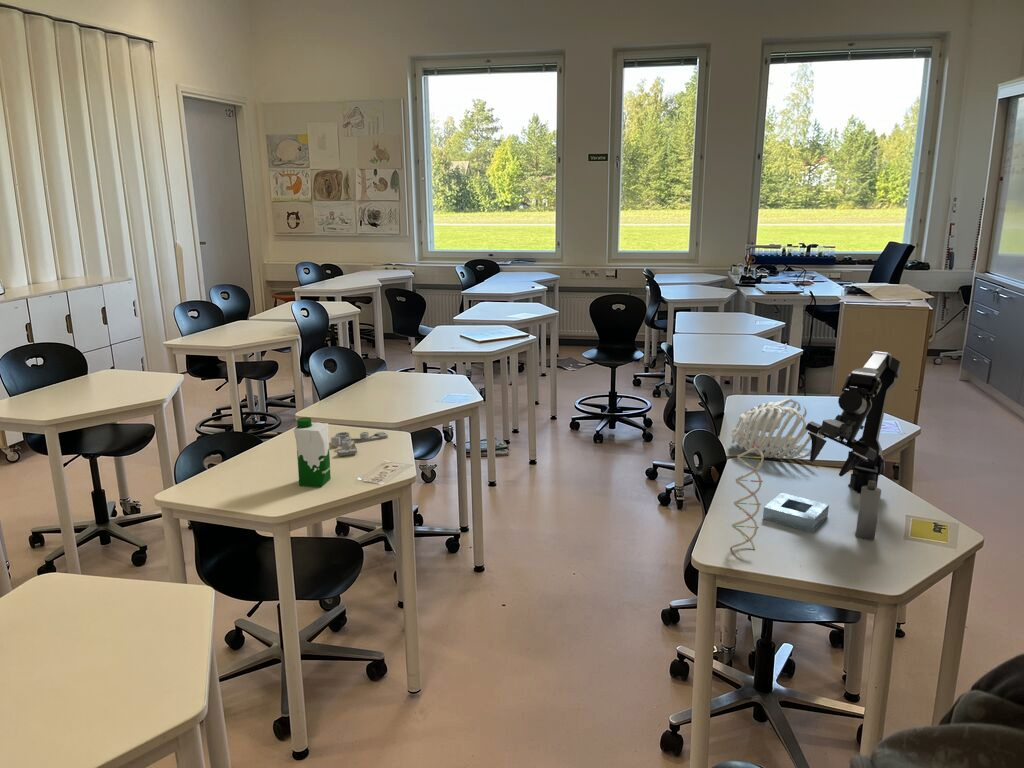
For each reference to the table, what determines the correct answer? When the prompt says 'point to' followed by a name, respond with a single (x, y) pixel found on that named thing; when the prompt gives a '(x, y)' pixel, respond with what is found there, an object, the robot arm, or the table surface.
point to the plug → (868, 511)
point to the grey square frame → (796, 512)
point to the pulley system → (345, 441)
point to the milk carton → (312, 453)
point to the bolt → (714, 474)
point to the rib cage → (772, 430)
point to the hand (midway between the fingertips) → (825, 468)
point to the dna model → (749, 491)
